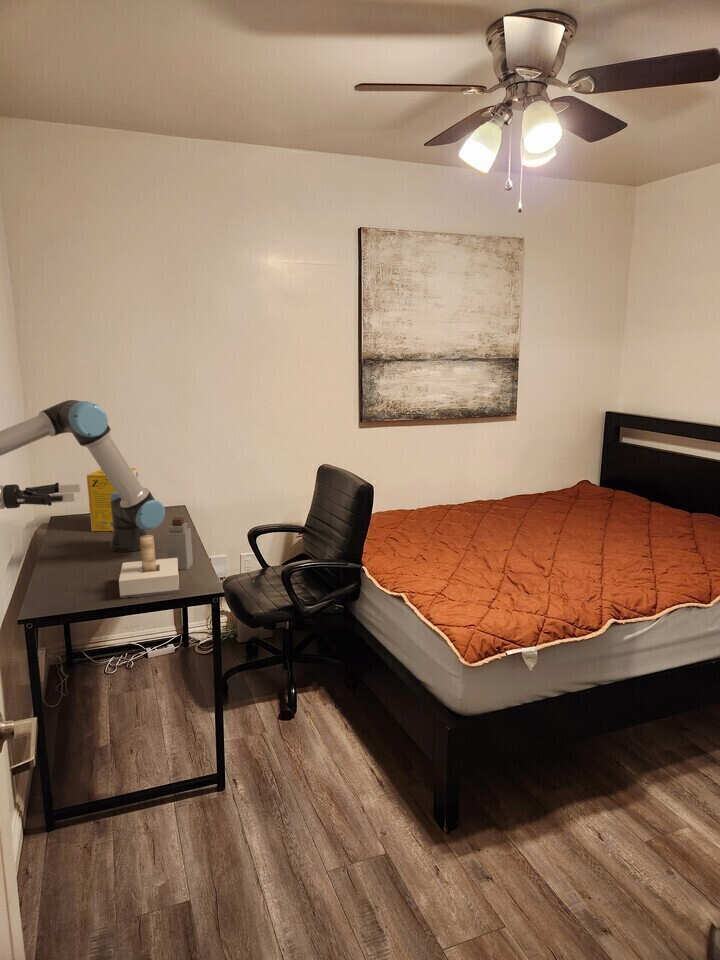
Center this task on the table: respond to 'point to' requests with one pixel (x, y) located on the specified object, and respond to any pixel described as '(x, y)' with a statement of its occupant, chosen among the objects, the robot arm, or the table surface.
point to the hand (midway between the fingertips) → (77, 492)
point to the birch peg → (148, 553)
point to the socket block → (149, 579)
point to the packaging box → (102, 499)
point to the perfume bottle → (180, 543)
